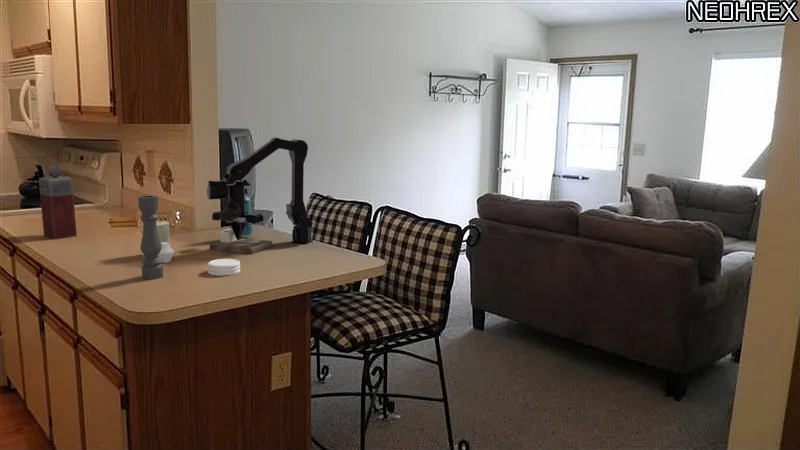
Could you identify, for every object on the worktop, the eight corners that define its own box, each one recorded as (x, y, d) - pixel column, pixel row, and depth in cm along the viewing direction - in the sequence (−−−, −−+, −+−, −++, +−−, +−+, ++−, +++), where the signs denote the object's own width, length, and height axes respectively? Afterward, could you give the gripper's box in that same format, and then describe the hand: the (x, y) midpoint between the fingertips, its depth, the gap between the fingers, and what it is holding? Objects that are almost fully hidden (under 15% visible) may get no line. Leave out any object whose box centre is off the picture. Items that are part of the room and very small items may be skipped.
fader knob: (238, 239, 245) (238, 229, 245) (229, 242, 240) (228, 231, 239) (229, 238, 247) (229, 228, 246) (220, 241, 241) (219, 231, 240)
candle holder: (145, 274, 204) (140, 195, 199) (165, 273, 204) (161, 195, 200) (139, 279, 198) (134, 198, 193) (160, 279, 198) (155, 198, 194)
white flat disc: (210, 277, 201) (209, 266, 201) (206, 270, 210) (205, 259, 210) (242, 274, 205) (242, 264, 205) (237, 267, 214) (237, 257, 214)
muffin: (156, 264, 216) (155, 244, 214) (154, 260, 221) (152, 240, 220) (176, 262, 218) (174, 242, 217) (173, 259, 224) (172, 239, 222)
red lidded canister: (63, 232, 266) (57, 164, 261) (77, 235, 260) (71, 166, 254) (40, 235, 259) (34, 165, 254) (54, 239, 253) (47, 167, 248)
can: (176, 253, 232) (174, 220, 230) (159, 259, 223) (157, 224, 221) (155, 251, 235) (153, 218, 233) (137, 256, 226) (135, 223, 224)
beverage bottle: (248, 240, 256) (246, 189, 252) (232, 239, 257) (230, 189, 253) (255, 236, 262) (253, 187, 258) (239, 236, 263) (238, 187, 260)
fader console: (272, 246, 246) (272, 240, 245) (252, 253, 232) (252, 248, 232) (231, 242, 251) (231, 237, 251) (209, 249, 238) (209, 244, 238)
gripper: (202, 199, 234) (203, 241, 237) (247, 202, 228) (248, 246, 231) (220, 195, 245) (221, 236, 247) (263, 198, 239) (264, 240, 242)
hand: (238, 239), depth 242 cm, fingers closed
